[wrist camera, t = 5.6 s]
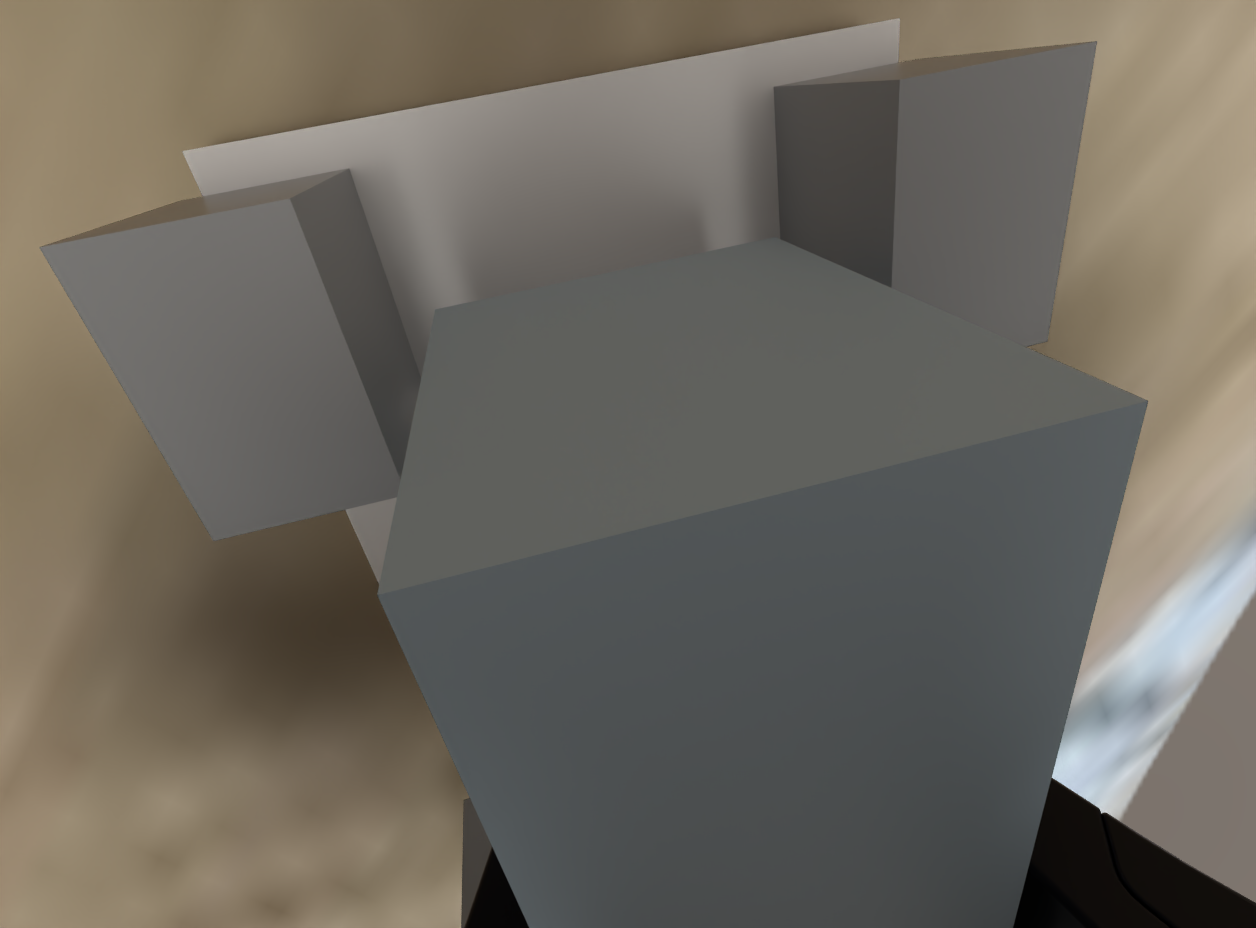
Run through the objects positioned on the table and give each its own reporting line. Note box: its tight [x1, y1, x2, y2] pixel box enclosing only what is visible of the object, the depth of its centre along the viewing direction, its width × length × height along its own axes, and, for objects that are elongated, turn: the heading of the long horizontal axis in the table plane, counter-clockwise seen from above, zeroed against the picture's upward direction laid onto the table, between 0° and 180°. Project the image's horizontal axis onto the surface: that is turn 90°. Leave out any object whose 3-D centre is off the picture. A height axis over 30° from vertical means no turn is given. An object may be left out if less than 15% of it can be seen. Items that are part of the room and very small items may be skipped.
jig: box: [39, 18, 1097, 928], centre depth 11 cm, size 16×10×4 cm, turn 9°
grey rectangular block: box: [377, 237, 1148, 928], centre depth 8 cm, size 12×4×5 cm, turn 9°
